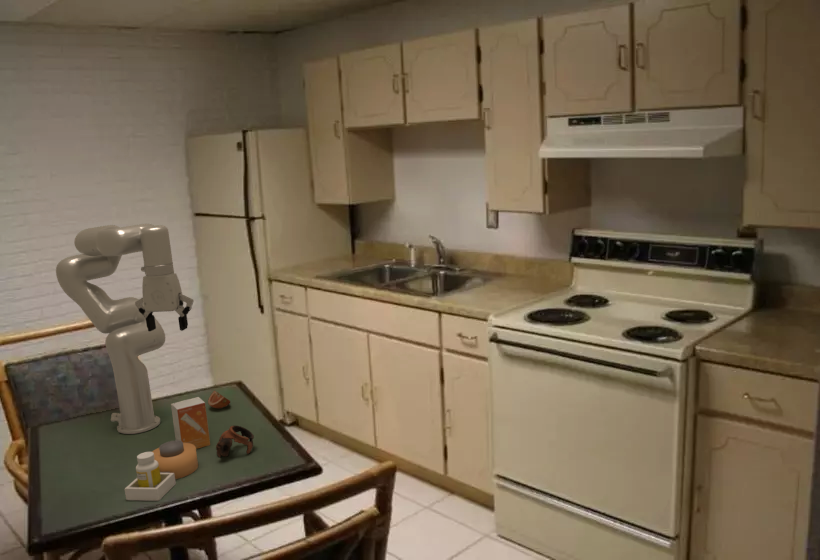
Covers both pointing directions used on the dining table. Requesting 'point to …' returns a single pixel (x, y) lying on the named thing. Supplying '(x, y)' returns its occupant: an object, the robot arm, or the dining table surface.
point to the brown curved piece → (230, 434)
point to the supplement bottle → (148, 470)
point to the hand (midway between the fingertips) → (167, 329)
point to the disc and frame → (166, 470)
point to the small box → (191, 422)
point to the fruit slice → (218, 400)
